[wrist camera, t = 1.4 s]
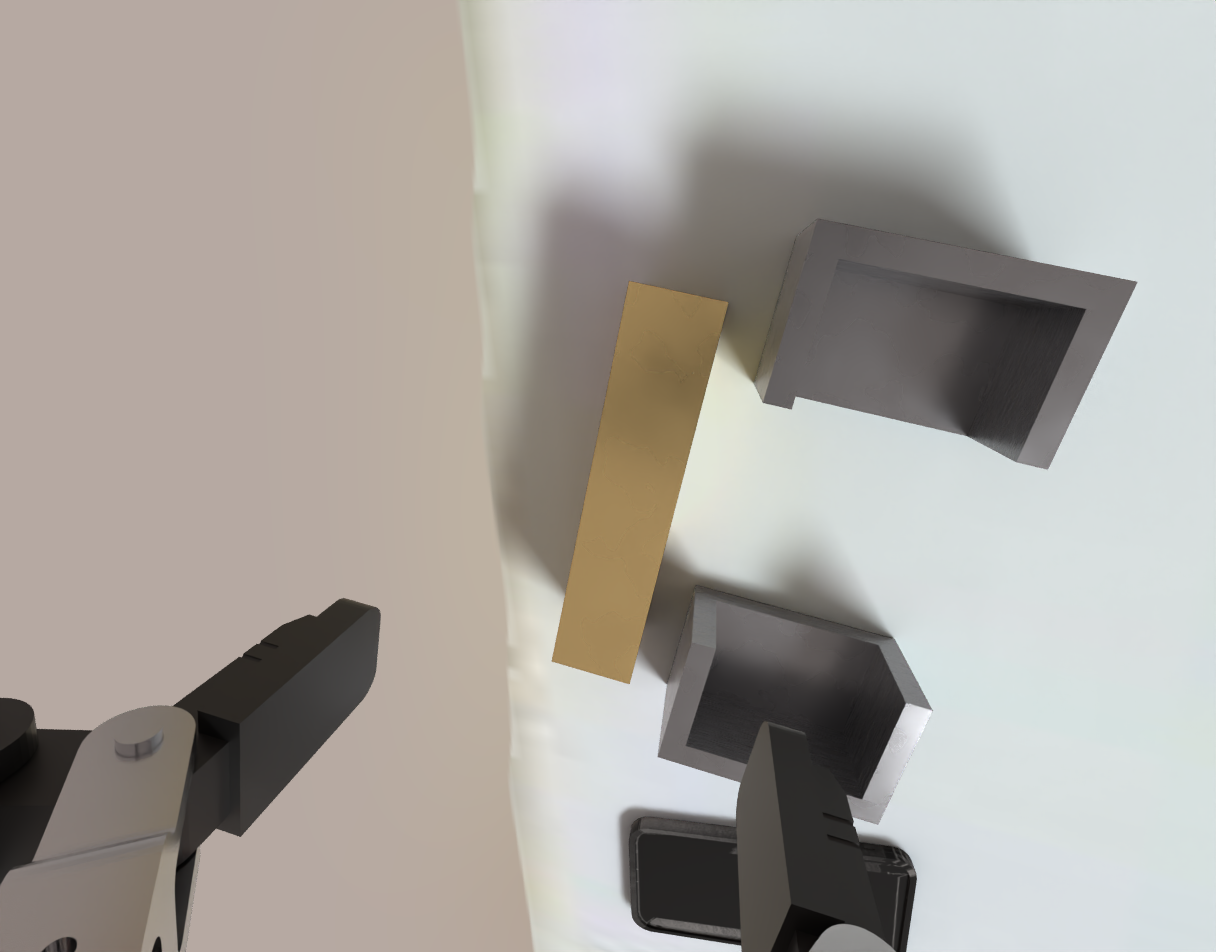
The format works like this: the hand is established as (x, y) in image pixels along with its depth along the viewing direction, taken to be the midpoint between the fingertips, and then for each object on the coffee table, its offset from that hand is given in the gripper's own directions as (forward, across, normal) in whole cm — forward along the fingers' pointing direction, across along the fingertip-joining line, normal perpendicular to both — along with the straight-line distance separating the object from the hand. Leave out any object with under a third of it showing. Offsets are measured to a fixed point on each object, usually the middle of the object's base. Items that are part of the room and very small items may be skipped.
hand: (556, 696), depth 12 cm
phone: (+17, -12, +22) cm, 30 cm away
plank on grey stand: (+16, -8, 0) cm, 18 cm away
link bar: (+16, 0, 0) cm, 16 cm away
